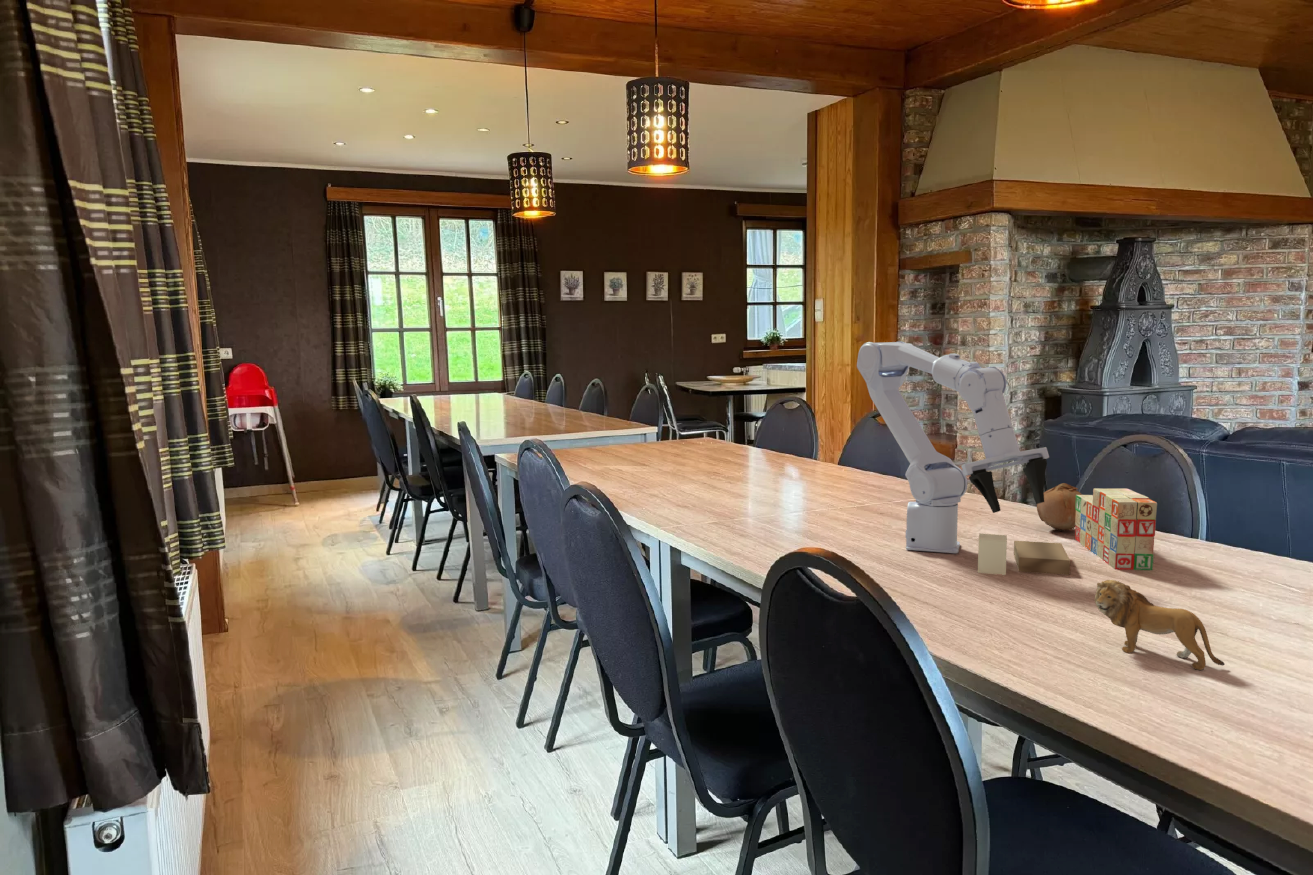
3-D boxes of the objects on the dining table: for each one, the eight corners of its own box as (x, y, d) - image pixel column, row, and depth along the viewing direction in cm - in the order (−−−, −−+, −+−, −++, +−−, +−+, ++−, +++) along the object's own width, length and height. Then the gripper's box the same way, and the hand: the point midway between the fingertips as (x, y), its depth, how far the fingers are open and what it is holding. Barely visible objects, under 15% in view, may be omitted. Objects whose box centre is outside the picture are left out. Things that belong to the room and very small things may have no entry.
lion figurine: (1088, 648, 110) (1090, 582, 109) (1097, 636, 114) (1100, 572, 113) (1221, 675, 100) (1226, 603, 99) (1227, 662, 104) (1231, 592, 103)
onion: (1078, 526, 177) (1080, 479, 175) (1093, 536, 167) (1095, 487, 166) (1030, 525, 178) (1032, 479, 177) (1043, 535, 169) (1044, 487, 168)
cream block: (977, 573, 144) (978, 539, 144) (978, 566, 149) (979, 533, 148) (1005, 575, 143) (1006, 541, 142) (1005, 568, 147) (1006, 535, 146)
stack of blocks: (1073, 540, 166) (1076, 479, 164) (1107, 540, 165) (1110, 479, 163) (1115, 570, 145) (1118, 500, 143) (1153, 571, 144) (1157, 501, 142)
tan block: (1018, 574, 145) (1019, 557, 144) (1013, 556, 156) (1014, 540, 156) (1069, 577, 142) (1070, 560, 142) (1060, 559, 153) (1061, 543, 153)
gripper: (962, 436, 143) (984, 513, 140) (1045, 418, 143) (1069, 495, 140) (951, 444, 150) (971, 517, 147) (1030, 428, 150) (1052, 501, 147)
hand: (1018, 507), depth 144 cm, fingers open, 7 cm apart
